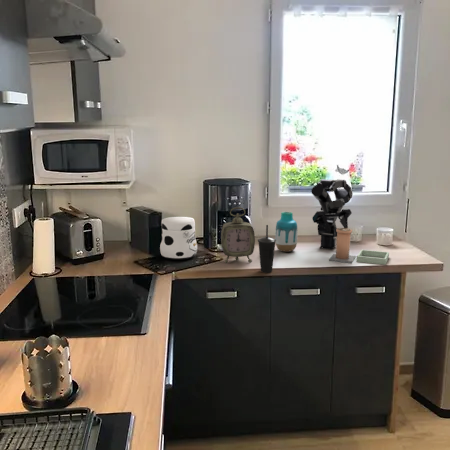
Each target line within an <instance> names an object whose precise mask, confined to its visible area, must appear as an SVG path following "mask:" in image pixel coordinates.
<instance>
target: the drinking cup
mask: <svg viewBox="0 0 450 450" xmlns="http://www.w3.org/2000/svg"><path fill="white" fill-rule="evenodd" d="M265 226H266V229H265V233H266V235H265V236H262V237H260V238H258V239H257V242H258V252H259V263H260V264H259V265H260V267H259V268H260V272H261V273H265V274H266V273H267V274H268V273H272V272H273V266H274V257H275V249H276V238H274V237H270V236H269V234H268V233H269V230H268V229H269V225H268V224H266V225H265Z"/></svg>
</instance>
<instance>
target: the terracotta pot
mask: <svg viewBox="0 0 450 450" xmlns="http://www.w3.org/2000/svg"><path fill="white" fill-rule="evenodd" d="M336 232H337V237H336V246H335V254H336V256H335V257H336V258H339V259H348V258H349V255H350V248H351V236H352V235H351V234H352V233H353V229H351V228H349V227H348V228H344V227H337V229H336Z"/></svg>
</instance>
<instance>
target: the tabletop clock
mask: <svg viewBox="0 0 450 450" xmlns="http://www.w3.org/2000/svg"><path fill="white" fill-rule="evenodd" d="M234 210H241V211H244V212H243V213H242V214H240V213H236V214H233V213H232V211H234ZM229 214H230V216H233V218H232V220H231V221H230V222H229V221H228V222H226V223H223V225H222V227H221V234H220V239H221V240H220V241H221V248H222V250H223V253H224V256H227V257H226V259H224V263H225V264H228V262H229V260H228V259H229V257H234V258H235V261H239V259H240V257H246V258H247V259H248V260H247V261H248V263H252V259H251V258H250V256H251V255H253V253H254V251H255V246H256V245H255V242H256V237H255V229H254V226H252V224H251V223H249V222H246V221H244V220H243V218H241V217H243V216H244V215H246V209H244V208H243V207H240V206H239V207H238V206H236V207H233V208H231V209H230V211H229Z"/></svg>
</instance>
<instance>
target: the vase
mask: <svg viewBox="0 0 450 450" xmlns="http://www.w3.org/2000/svg"><path fill="white" fill-rule="evenodd" d="M293 216H294V215H293V212H292V211H282V212H281V213H280V219H279V220H277V222H276V224H275V235H274V237H275V238H274V239H276V242H275V247H276V248H277V250H279V251H281V252H284V253H287V252H293V251H295V249H296V247H297V245H298V230H299V229H298V222H297V221H296V220H294V218H293Z"/></svg>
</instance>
